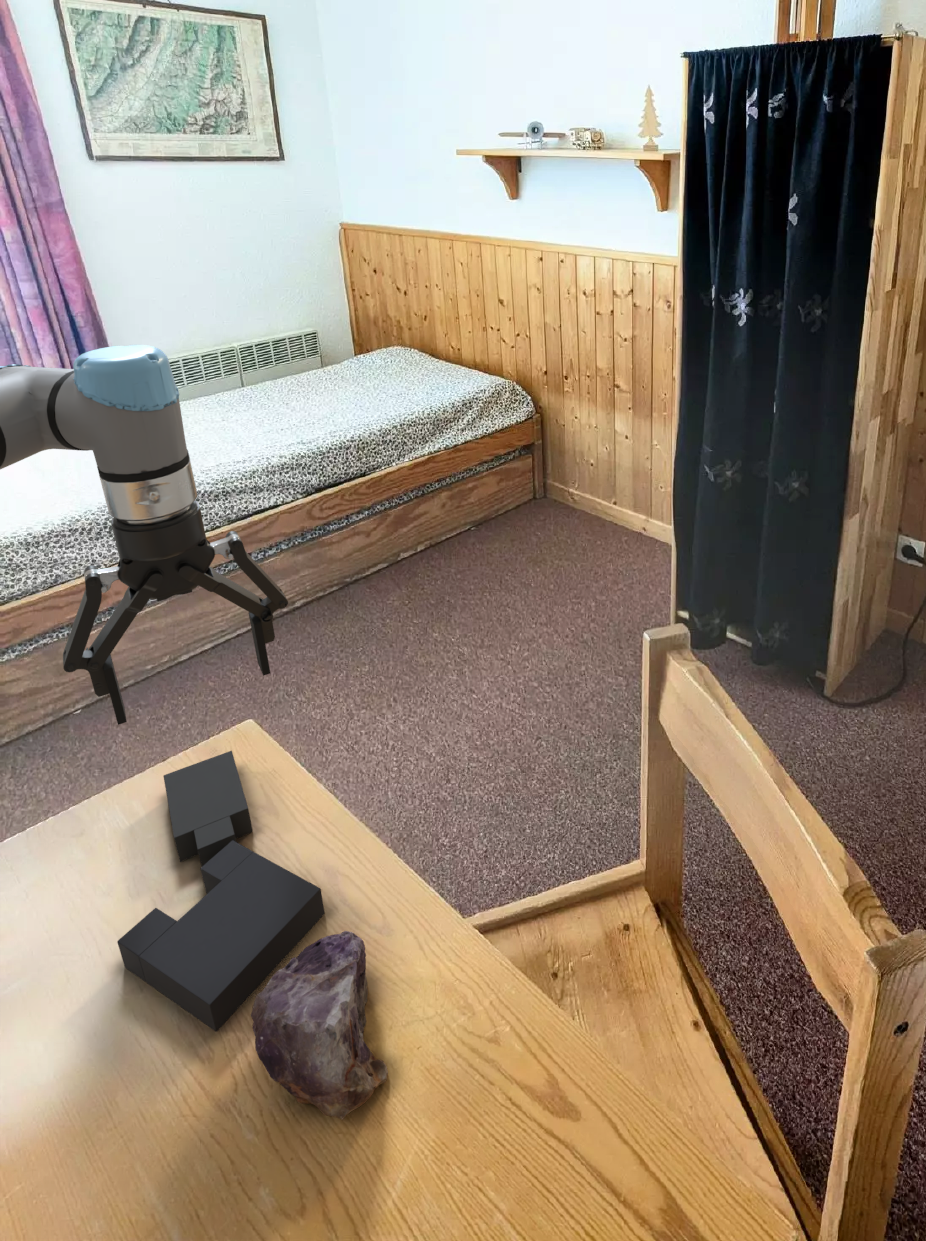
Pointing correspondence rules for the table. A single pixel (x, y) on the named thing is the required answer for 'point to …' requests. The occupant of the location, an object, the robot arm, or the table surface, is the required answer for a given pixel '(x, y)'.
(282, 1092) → the table surface
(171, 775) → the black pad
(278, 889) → the dock pad
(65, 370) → the robot arm
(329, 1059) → the rock
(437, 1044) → the table surface
